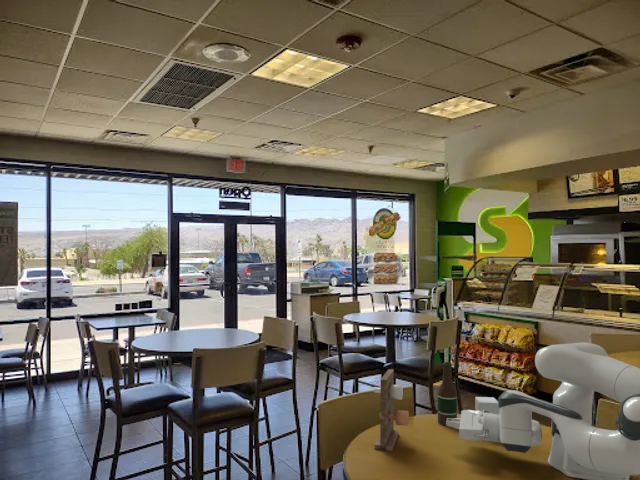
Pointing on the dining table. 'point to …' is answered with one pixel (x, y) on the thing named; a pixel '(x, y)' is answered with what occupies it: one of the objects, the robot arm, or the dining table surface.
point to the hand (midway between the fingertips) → (446, 422)
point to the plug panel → (386, 415)
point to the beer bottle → (447, 396)
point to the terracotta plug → (400, 417)
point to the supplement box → (487, 404)
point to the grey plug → (393, 391)
